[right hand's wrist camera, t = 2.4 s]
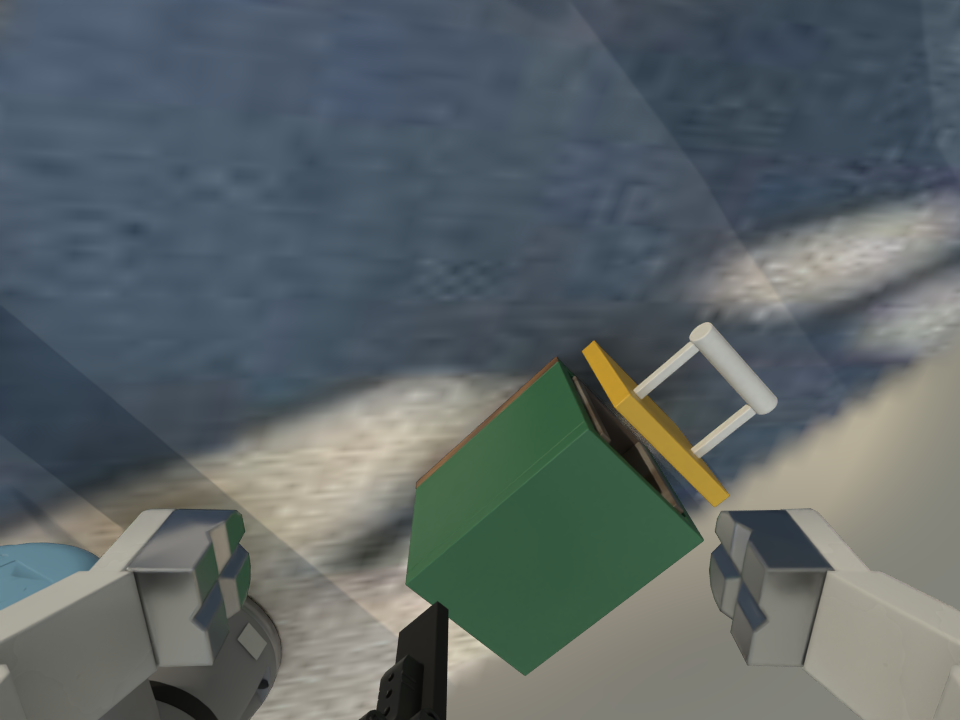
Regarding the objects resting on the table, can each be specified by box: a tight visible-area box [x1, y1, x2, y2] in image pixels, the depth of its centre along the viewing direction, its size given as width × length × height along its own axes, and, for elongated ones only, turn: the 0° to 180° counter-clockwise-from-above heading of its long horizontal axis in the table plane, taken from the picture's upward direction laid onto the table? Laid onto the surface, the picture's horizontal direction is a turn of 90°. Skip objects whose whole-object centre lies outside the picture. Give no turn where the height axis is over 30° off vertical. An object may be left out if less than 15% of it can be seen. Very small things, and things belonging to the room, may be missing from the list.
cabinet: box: [405, 357, 704, 676], centre depth 42 cm, size 15×11×12 cm
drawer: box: [571, 322, 778, 513], centre depth 41 cm, size 20×10×10 cm, turn 134°
